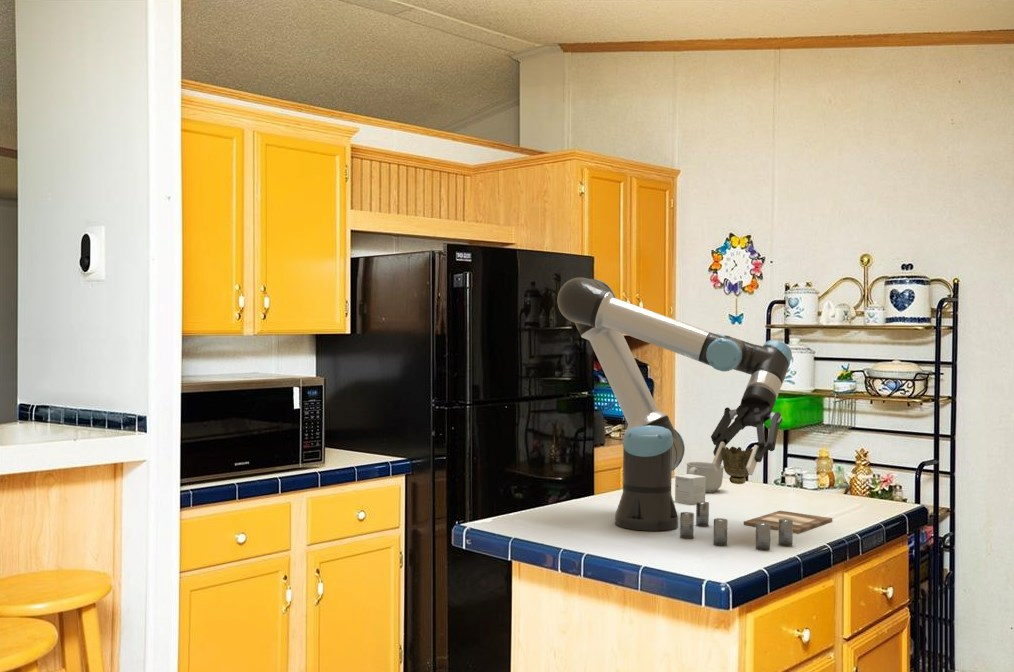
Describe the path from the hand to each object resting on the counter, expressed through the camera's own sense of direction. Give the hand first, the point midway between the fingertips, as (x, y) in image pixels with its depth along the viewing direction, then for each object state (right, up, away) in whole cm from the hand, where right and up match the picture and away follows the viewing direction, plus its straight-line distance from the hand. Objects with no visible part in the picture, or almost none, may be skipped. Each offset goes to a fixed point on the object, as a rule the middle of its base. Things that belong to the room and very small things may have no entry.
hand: (732, 469), depth 219 cm
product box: (0, -16, +48) cm, 50 cm away
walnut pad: (+19, -16, +21) cm, 32 cm away
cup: (+2, -4, +3) cm, 5 cm away
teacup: (+6, -16, +66) cm, 68 cm away
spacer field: (-1, -16, +4) cm, 17 cm away
